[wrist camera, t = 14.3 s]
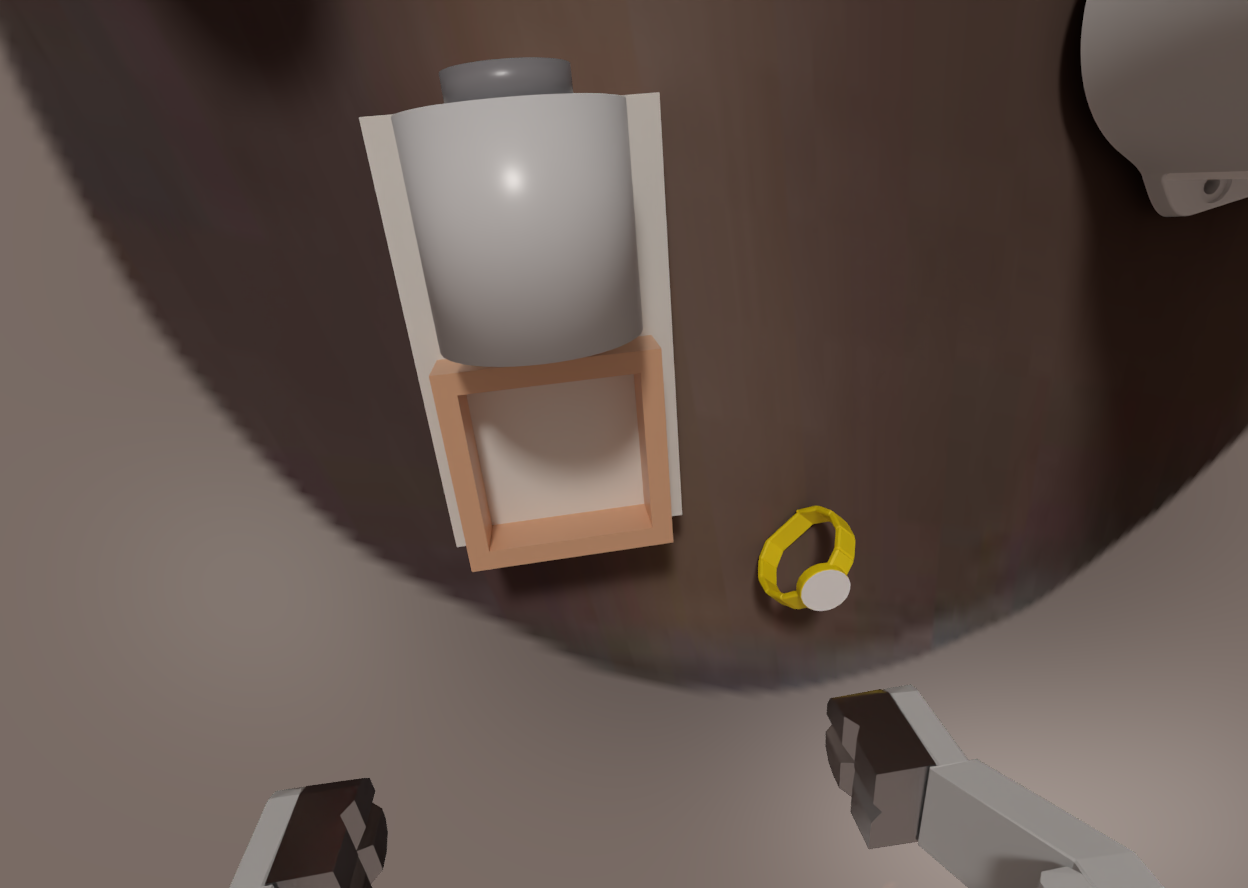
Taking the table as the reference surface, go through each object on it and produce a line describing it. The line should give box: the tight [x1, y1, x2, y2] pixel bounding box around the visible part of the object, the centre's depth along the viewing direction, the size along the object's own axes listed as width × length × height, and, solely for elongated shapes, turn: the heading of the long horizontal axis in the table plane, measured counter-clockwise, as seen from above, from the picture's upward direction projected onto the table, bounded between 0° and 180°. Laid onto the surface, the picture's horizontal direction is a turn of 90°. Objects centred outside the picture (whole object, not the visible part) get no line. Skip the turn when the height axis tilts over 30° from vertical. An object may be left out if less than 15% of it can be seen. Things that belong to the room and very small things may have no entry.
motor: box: [359, 58, 682, 572], centre depth 27 cm, size 12×21×11 cm, turn 5°
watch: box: [758, 506, 855, 611], centre depth 36 cm, size 6×3×6 cm, turn 140°
